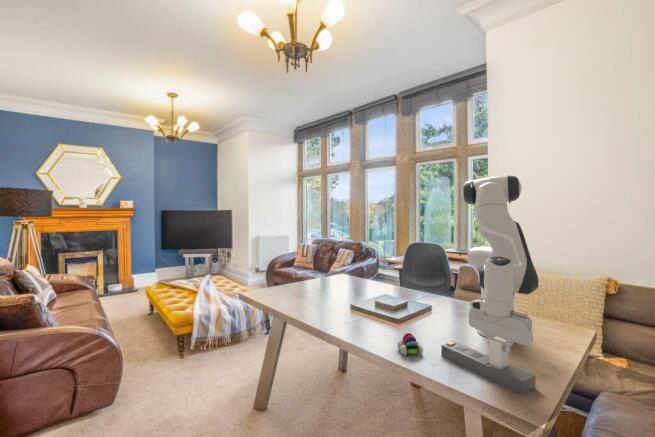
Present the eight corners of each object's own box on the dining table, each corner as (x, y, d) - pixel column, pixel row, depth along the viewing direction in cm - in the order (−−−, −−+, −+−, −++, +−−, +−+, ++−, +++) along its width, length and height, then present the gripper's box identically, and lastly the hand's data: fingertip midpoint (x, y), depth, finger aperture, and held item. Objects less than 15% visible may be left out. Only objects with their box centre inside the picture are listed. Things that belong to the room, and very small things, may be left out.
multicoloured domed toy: (416, 347, 132) (416, 329, 132) (424, 358, 122) (424, 339, 122) (396, 347, 132) (396, 330, 131) (402, 358, 122) (402, 339, 122)
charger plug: (496, 362, 109) (496, 336, 109) (507, 367, 106) (508, 340, 105) (489, 365, 107) (489, 339, 107) (500, 370, 104) (500, 343, 103)
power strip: (453, 353, 125) (453, 339, 125) (535, 391, 99) (535, 373, 99) (441, 358, 122) (441, 343, 122) (522, 398, 96) (522, 379, 96)
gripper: (537, 314, 98) (537, 358, 99) (477, 298, 116) (476, 336, 116) (526, 318, 95) (525, 364, 96) (465, 301, 113) (465, 339, 113)
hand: (498, 348), depth 106 cm, fingers closed on charger plug, 4 cm apart
